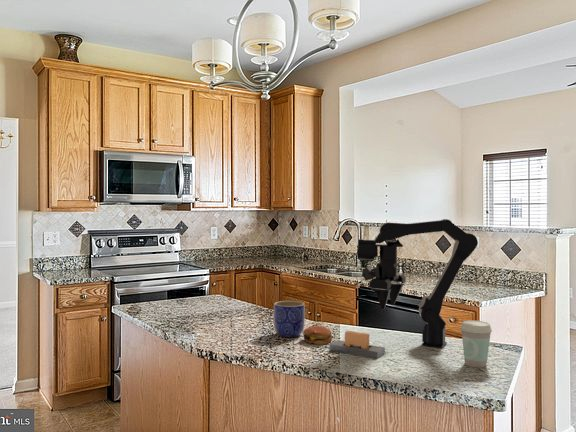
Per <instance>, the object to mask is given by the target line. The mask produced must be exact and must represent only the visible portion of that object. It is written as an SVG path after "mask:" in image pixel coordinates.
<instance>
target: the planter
mask: <svg viewBox="0 0 576 432" xmlns="http://www.w3.org/2000/svg"><path fill="white" fill-rule="evenodd" d="M305 305H306V304H305V303H304V302H302V301H299V300H280V301H276V302H274V303H273V326H274V331H275V332H276V333H277V335H278V336H281V337H283V338H295V337H298V336H301V334H302V333H303V332H304V330H305V321H306V320H305V319H306V310H305V309H306V307H305Z"/></svg>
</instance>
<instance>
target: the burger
mask: <svg viewBox="0 0 576 432" xmlns="http://www.w3.org/2000/svg"><path fill="white" fill-rule="evenodd" d="M302 333H303V339H305V341H306V342H307V343H308V344H312V343H313V344H314V345H316V346H317V345H327V344H329V343H330V342H331V341H332V339H333V335H332V331H331V330H330V329H329V328H327V327H325V326H320V325H317V326H316V325H313V326H312V325H311V326H309V327H307V328H304V329H303V331H302Z"/></svg>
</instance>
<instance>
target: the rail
mask: <svg viewBox="0 0 576 432" xmlns="http://www.w3.org/2000/svg"><path fill="white" fill-rule="evenodd" d="M385 351H386V347H385V346H378V345H372V344H369V349H362V348H361V346H358V345H353V346H352V347H349V346H345V340H339V339H338V340H335V341H334V342H332V343H330V344H329V352H336V353H342V354H348V355H354V356H359V357H365V358H371V359H379V358H381V357H382V356H384V355H385V354H386V352H385Z"/></svg>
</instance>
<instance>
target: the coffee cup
mask: <svg viewBox="0 0 576 432" xmlns="http://www.w3.org/2000/svg"><path fill="white" fill-rule="evenodd" d="M459 329H460V330H461V339H462V348H463V358H464V364H465V365H466V366H468V367H471V368H485V367H486V366H487V362H488V357H489V354H488V353H489V350H490V349H489V347H490V341H491V335H492V334H491V333H492V332H493V330H492V327H491V324H490V322H487V321H482V320H475V319H474V320H471V319H469V320H467V319H466V320H464V321H462V322H461V325H460V328H459Z"/></svg>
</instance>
